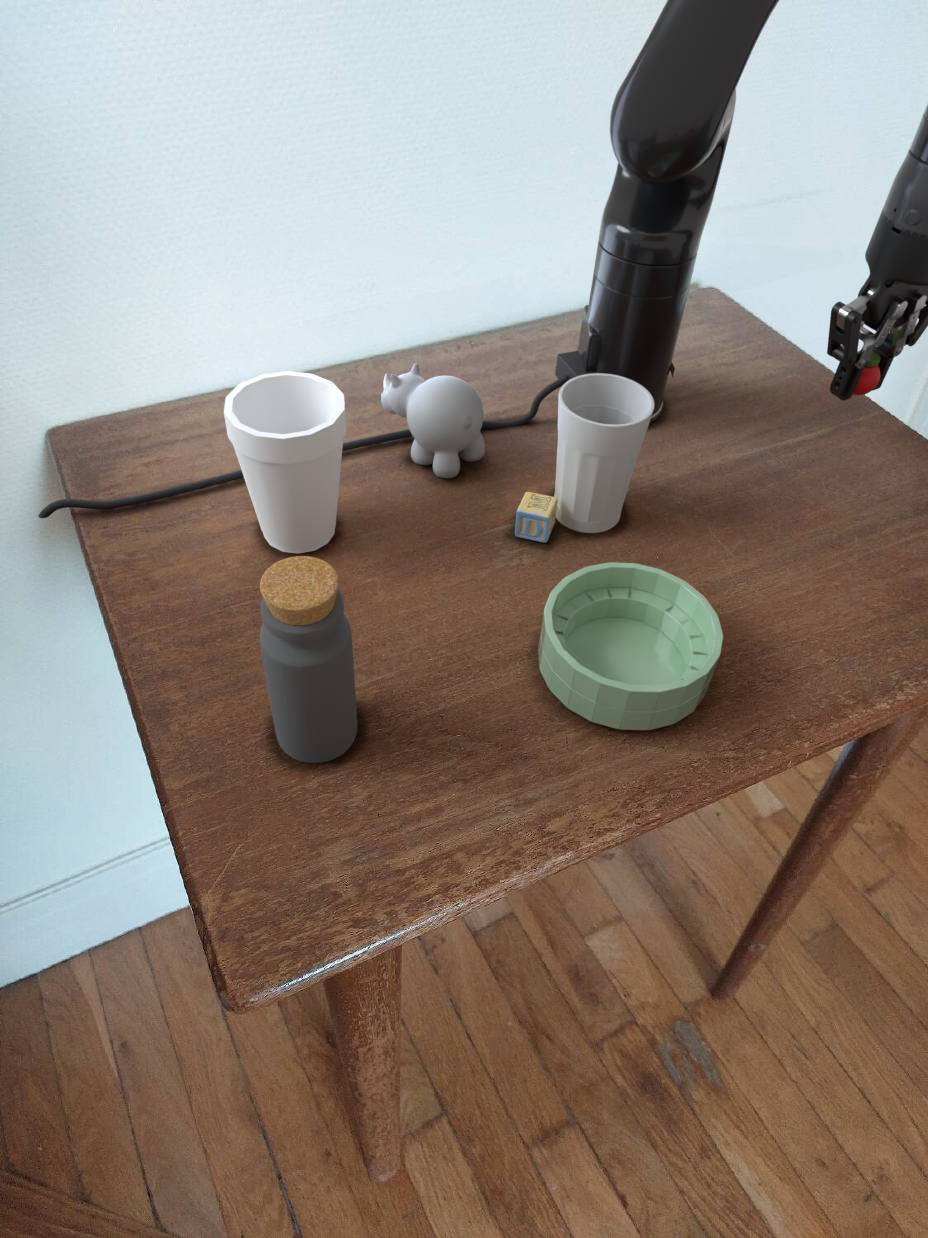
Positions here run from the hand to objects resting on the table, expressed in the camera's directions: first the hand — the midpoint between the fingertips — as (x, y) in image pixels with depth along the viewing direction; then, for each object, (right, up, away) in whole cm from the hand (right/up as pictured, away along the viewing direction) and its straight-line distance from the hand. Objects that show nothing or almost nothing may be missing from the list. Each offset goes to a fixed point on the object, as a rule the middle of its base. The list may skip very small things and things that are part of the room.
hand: (853, 390), depth 89 cm
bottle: (-49, -31, -23) cm, 62 cm away
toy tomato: (0, 0, 0) cm, 0 cm away
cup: (-27, -13, -5) cm, 30 cm away
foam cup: (-53, -15, -8) cm, 56 cm away
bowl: (-26, -26, -18) cm, 41 cm away
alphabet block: (-32, -15, -7) cm, 36 cm away
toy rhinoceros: (-42, -6, +1) cm, 42 cm away
